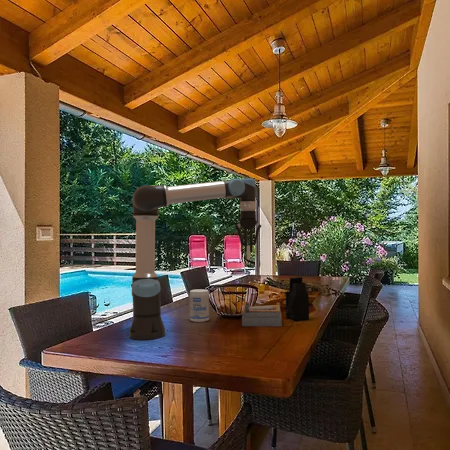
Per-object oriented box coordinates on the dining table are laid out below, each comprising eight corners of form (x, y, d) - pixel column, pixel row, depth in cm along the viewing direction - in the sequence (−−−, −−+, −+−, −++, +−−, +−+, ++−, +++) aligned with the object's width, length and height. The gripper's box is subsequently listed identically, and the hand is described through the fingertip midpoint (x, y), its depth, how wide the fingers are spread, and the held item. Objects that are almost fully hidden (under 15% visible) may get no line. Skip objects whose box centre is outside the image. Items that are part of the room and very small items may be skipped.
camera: (298, 314, 216) (297, 275, 216) (311, 319, 203) (310, 278, 204) (280, 316, 213) (279, 276, 213) (293, 321, 200) (292, 279, 200)
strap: (245, 310, 198) (245, 307, 198) (246, 309, 201) (246, 306, 201) (279, 308, 196) (278, 305, 196) (279, 306, 199) (278, 304, 199)
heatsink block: (242, 326, 194) (241, 306, 194) (244, 320, 206) (243, 301, 206) (281, 326, 191) (281, 306, 191) (281, 320, 203) (281, 301, 203)
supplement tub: (193, 323, 202) (192, 292, 202) (187, 319, 211) (186, 290, 211) (212, 321, 206) (211, 290, 206) (205, 317, 215) (204, 288, 215)
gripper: (233, 210, 203) (234, 259, 203) (261, 209, 201) (261, 259, 201) (235, 211, 210) (236, 258, 210) (262, 210, 208) (262, 258, 208)
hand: (248, 259), depth 206 cm, fingers closed
